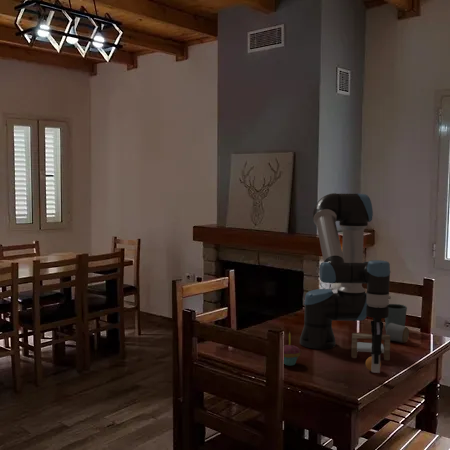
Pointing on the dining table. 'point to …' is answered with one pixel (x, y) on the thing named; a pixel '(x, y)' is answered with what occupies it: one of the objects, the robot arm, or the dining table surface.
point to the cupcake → (291, 353)
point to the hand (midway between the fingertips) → (375, 371)
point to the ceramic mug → (397, 332)
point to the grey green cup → (396, 315)
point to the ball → (370, 363)
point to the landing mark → (366, 347)
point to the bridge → (369, 336)
